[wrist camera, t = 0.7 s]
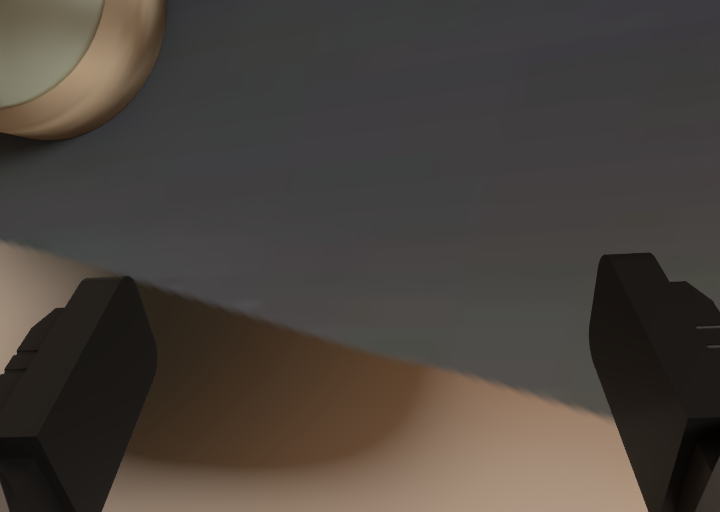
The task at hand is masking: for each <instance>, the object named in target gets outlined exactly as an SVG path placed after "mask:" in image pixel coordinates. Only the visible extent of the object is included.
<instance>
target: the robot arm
mask: <svg viewBox="0 0 720 512" xmlns="http://www.w3.org/2000/svg"><path fill="white" fill-rule="evenodd" d="M589 344H590V351H591V356H592V360H593V363H594V366H595V369H596V371H597V374H598V377H599V380H600V382H601V385H602V388H603V390H604V393H605V396H606V398H607V401H608V404H609V407H610V409H611V412H612V415H613V417H614V420H615V423H616V425H617V428H618V431H619V433H620V436H621V439H622V442H623V444H624V447H625V450H626V452H627V455H628V458H629V460H630V463H631V466H632V468H633V471H634V474H635V477H636V479H637V482H638V485H639V487H640V490H641V493H642V495H643V498H644V501H645V504H646V506H647V509H648V512H720V312H719V310H718V309H717V307H716V306H715V304H714V303H713V301H712V300H711V299H709V298H708V297H707V296H705V295H704V294H703V293H701V292H700V291H698V290H697V289H696V288H694V287H693V286H692V285H690V284H689V283H688V282H686V281H682V282H669V280H668V279H667V277H666V275H665V274H664V272H663V270H662V268H661V267H660V265H659V263H658V262H657V260H656V258H655V257H654V255H652V254H651V253H632V254H611V255H603V256H602V257H601V259H600V261H599V265H598V271H597V278H596V285H595V291H594V298H593V305H592V311H591V318H590V325H589ZM156 367H157V349H156V343H155V340H154V337H153V334H152V331H151V328H150V325H149V322H148V319H147V316H146V313H145V310H144V307H143V304H142V301H141V298H140V295H139V292H138V289H137V286H136V284H135V282H134V280H133V279H132V278H131V277H129V276H122V277H101V278H86V279H84V280H83V281H81V283H80V284H79V286H78V288H77V289H76V291H75V292H74V294H73V296H72V297H71V299H70V300H69V302H68V304H67V305H66V307H65V308H55V309H54V310H53V311H52V312H51V313H49V314H48V315H47V316H46V317H44V318H43V319H42V320H41V321H40V322H38V323H37V324H36V325H35V326H34V327H32V328H31V330H30V331H29V333H28V334H27V336H26V337H25V339H24V340H23V342H22V343H21V345H20V346H19V348H18V349H17V355H14V356H13V357H12V358H11V360H10V362H9V363H8V365H7V366H6V368H5V373H4V374H1V375H0V512H102V509H103V507H104V504H105V501H106V499H107V497H108V494H109V491H110V489H111V486H112V484H113V481H114V479H115V476H116V474H117V471H118V469H119V466H120V463H121V461H122V458H123V456H124V453H125V451H126V448H127V446H128V443H129V440H130V438H131V435H132V433H133V430H134V428H135V425H136V423H137V420H138V417H139V415H140V412H141V410H142V407H143V405H144V402H145V400H146V397H147V394H148V392H149V389H150V387H151V384H152V382H153V379H154V376H155V373H156Z"/></svg>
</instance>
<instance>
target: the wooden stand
mask: <svg viewBox="0 0 720 512" xmlns="http://www.w3.org/2000/svg"><path fill="white" fill-rule="evenodd" d="M166 17H167V0H0V132H2V133H6V134H11V135H15V136H20V137H25V138H30V139H37V140H61V139H68V138H73V137H76V136H79V135H82V134H86V133H88V132H90V131H92V130H94V129H96V128H98V127H100V126H102V125H103V124H105V123H106V122H108V121H109V120H111V119H113V118H114V117H115V116H116V115H117V114H118V113H120V112H121V111H122V110H123V109H124V108H125V107H126V106H127V105H128V104H129V103H130V102H131V101H132V100H133V98H134V97H135V96H136V95H137V94H138V92H139V91H140V89H141V88H142V86H143V85H144V84H145V82H146V80H147V78H148V77H149V75H150V73H151V71H152V69H153V67H154V65H155V62H156V60H157V57H158V54H159V52H160V48H161V45H162V41H163V37H164V32H165V25H166Z"/></svg>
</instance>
